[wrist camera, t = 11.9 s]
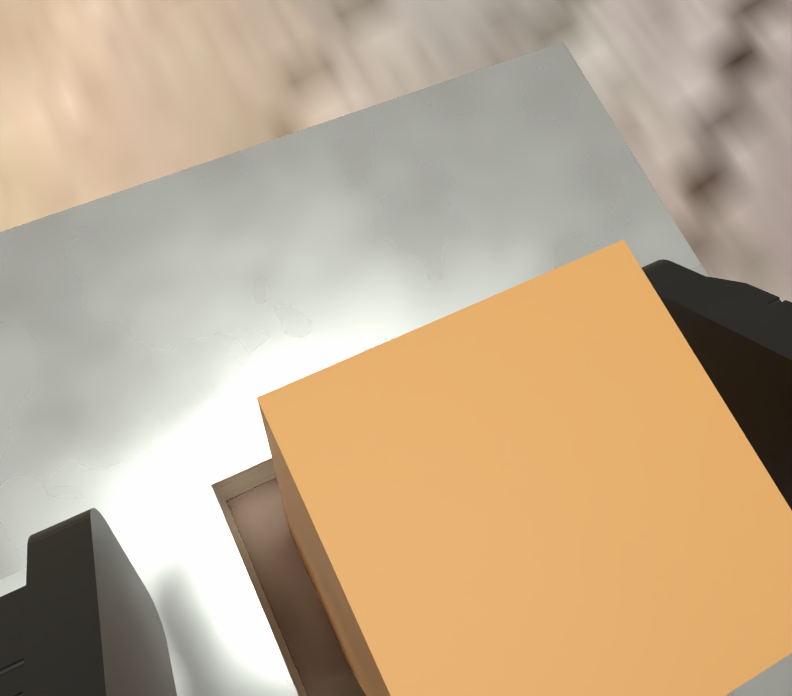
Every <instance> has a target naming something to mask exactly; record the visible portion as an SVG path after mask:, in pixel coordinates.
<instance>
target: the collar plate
mask: <svg viewBox="0 0 792 696" xmlns="http://www.w3.org/2000/svg"><path fill="white" fill-rule="evenodd" d="M621 240H624V241H625V242H626V244H627V246H628V247H629V249H630V251H631V252H632V254H633V255H634V257H635V259H636V260H637V262H638V263H639V265H640V267H641V268H642V267H644V266H646V265H648V264H651V263H653V262H655V261H657V260H662V259H664V260H669V261H672V262H674V263H676V264H679V265H681V266H683V267H686V268H688V269H690V270H692V271H695V272H697V273H699V274H702V275H704V276H707V277H709V276H708V275H707V273H706V272H705V270H704V268H703V267H702V265H701V264H700V262H699V260H698V259H697V257H696V255H695V254H694V252H693V251H692V249H691V247H690V246H689V244H688V243H687V241H686V239H685V238H684V236H683V234H682V233H681V231H680V230H679V228H678V226H677V225H676V223H675V222H674V220H673V218H672V217H671V215H670V213H669V212H668V210H667V209H666V207H665V205H664V204H663V202H662V200H661V199H660V197H659V196H658V194H657V192H656V191H655V189H654V188H653V186H652V184H651V183H650V181H649V179H648V178H647V176H646V175H645V173H644V171H643V170H642V168H641V167H640V165H639V163H638V162H637V160H636V158H635V157H634V155H633V154H632V152H631V150H630V149H629V147H628V146H627V144H626V142H625V141H624V139H623V137H622V136H621V134H620V133H619V131H618V129H617V128H616V126H615V124H614V123H613V121H612V120H611V118H610V116H609V115H608V113H607V112H606V110H605V108H604V107H603V105H602V103H601V102H600V100H599V99H598V97H597V95H596V94H595V92H594V91H593V89H592V87H591V86H590V84H589V82H588V81H587V79H586V78H585V76H584V74H583V73H582V71H581V70H580V68H579V66H578V65H577V63H576V61H575V60H574V58H573V57H572V55H571V53H570V52H569V50H568V48H567V47H566V45H565V44H564V42H561V43H558V44H555V45H552V46H549V47H546V48H543V49H540V50H537V51H534V52H531V53H528V54H525V55H523V56H520V57H517V58H514V59H511V60H508V61H505V62H502V63H499V64H496V65H493V66H490V67H487V68H484V69H481V70H478V71H475V72H472V73H469V74H466V75H463V76H460V77H458V78H455V79H452V80H449V81H446V82H443V83H440V84H437V85H434V86H431V87H428V88H425V89H422V90H419V91H416V92H413V93H410V94H407V95H404V96H401V97H398V98H395V99H393V100H390V101H387V102H384V103H381V104H378V105H375V106H372V107H369V108H366V109H363V110H360V111H357V112H354V113H351V114H348V115H345V116H342V117H339V118H336V119H333V120H330V121H328V122H325V123H322V124H319V125H316V126H313V127H310V128H307V129H304V130H301V131H298V132H295V133H292V134H289V135H286V136H283V137H280V138H277V139H274V140H271V141H268V142H265V143H263V144H260V145H257V146H254V147H251V148H248V149H245V150H242V151H239V152H236V153H233V154H230V155H227V156H224V157H221V158H218V159H215V160H212V161H209V162H206V163H203V164H200V165H198V166H195V167H192V168H189V169H186V170H183V171H180V172H177V173H174V174H171V175H168V176H165V177H162V178H159V179H156V180H153V181H150V182H147V183H144V184H141V185H138V186H135V187H133V188H130V189H127V190H124V191H121V192H118V193H115V194H112V195H109V196H106V197H103V198H100V199H97V200H94V201H91V202H88V203H85V204H82V205H79V206H76V207H73V208H70V209H68V210H65V211H62V212H59V213H56V214H53V215H50V216H47V217H44V218H41V219H38V220H35V221H32V222H29V223H26V224H23V225H20V226H17V227H14V228H11V229H8V230H5V231H3V232H0V597H1V596H3V595H6V594H8V593H10V592H12V591H14V590H17V589H19V588H21V587H23V586H25V585H26V571H27V543H28V538H29V537H30V535H32V534H35V533H37V532H39V531H41V530H44V529H46V528H48V527H51V526H53V525H55V524H57V523H60V522H62V521H64V520H66V519H69V518H71V517H73V516H75V515H78V514H80V513H82V512H85V511H87V510H89V509H91V508H96V509H97V510H98V511H99V512H100V513H101V515H102V516H103V517H104V519H105V520H106V522H107V524H108V525H109V527H110V529H111V530H112V532H113V534H114V535H115V537H116V539H117V540H118V542H119V544H120V545H121V547H122V549H123V550H124V552H125V554H126V555H127V557H128V559H129V560H130V562H131V564H132V565H133V567H134V569H135V570H136V572H137V574H138V575H139V577H140V579H141V580H142V582H143V584H144V585H145V587H146V589H147V590H148V592H149V594H150V596H151V598H152V600H153V602H154V604H155V607H156V609H157V611H158V614H159V617H160V619H161V622H162V625H163V628H164V632H165V636H166V640H167V645H168V650H169V655H170V661H171V666H172V671H173V677H174V682H175V687H176V692H177V696H307V694H306V691H305V689H304V686H303V684H302V682H301V679H300V677H299V674H298V672H297V670H296V667H295V665H294V662H293V660H292V658H291V655H290V653H289V651H288V648H287V646H286V643H285V641H284V639H283V636H282V634H281V631H280V629H279V627H278V624H277V622H276V619H275V617H274V615H273V612H272V610H271V607H270V605H269V603H268V600H267V598H266V596H265V593H264V591H263V588H262V586H261V584H260V581H259V579H258V576H257V574H256V572H255V569H254V567H253V564H252V562H251V560H250V557H249V555H248V553H247V550H246V548H245V545H244V543H243V541H242V538H241V536H240V533H239V531H238V529H237V526H236V524H235V521H234V519H233V517H232V514H231V512H230V509H229V507H228V505H227V502H226V500H229V499H231V498H233V497H235V496H237V495H239V494H242V493H244V492H246V491H248V490H250V489H253V488H255V487H257V486H259V485H261V484H263V483H266V482H268V481H270V480H272V479H274V478H276V473H275V469H274V465H273V461H272V457H271V453H270V448H269V444H268V440H267V436H266V432H265V428H264V424H263V420H262V416H261V412H260V408H259V404H258V400H257V397H259V396H261V395H264V394H266V393H268V392H271V391H273V390H275V389H278V388H280V387H282V386H285V385H287V384H289V383H292V382H294V381H296V380H299V379H301V378H303V377H306V376H308V375H310V374H312V373H315V372H317V371H319V370H322V369H324V368H326V367H329V366H331V365H333V364H336V363H338V362H340V361H343V360H345V359H347V358H350V357H352V356H354V355H357V354H359V353H361V352H364V351H366V350H368V349H371V348H373V347H375V346H377V345H380V344H382V343H384V342H387V341H389V340H391V339H394V338H396V337H398V336H401V335H403V334H405V333H408V332H410V331H412V330H415V329H417V328H419V327H422V326H424V325H426V324H429V323H431V322H433V321H436V320H438V319H440V318H443V317H445V316H447V315H449V314H452V313H454V312H456V311H459V310H461V309H463V308H466V307H468V306H470V305H473V304H475V303H477V302H480V301H482V300H484V299H487V298H489V297H491V296H494V295H496V294H498V293H501V292H503V291H505V290H508V289H510V288H512V287H514V286H517V285H519V284H521V283H524V282H526V281H528V280H531V279H533V278H535V277H538V276H540V275H542V274H545V273H547V272H549V271H552V270H554V269H556V268H559V267H561V266H563V265H566V264H568V263H570V262H573V261H575V260H577V259H579V258H582V257H584V256H586V255H589V254H591V253H593V252H596V251H598V250H600V249H603V248H605V247H607V246H610V245H612V244H614V243H617V242H619V241H621ZM725 696H792V653H791V654H789V655H788V656H786V657H785V658H783V659H782V660H780V661H778V662H777V663H775V664H774V665H772V666H771V667H769V668H767V669H766V670H764V671H763V672H761V673H760V674H758V675H757V676H755V677H753V678H752V679H750V680H749V681H747V682H746V683H744V684H743V685H741V686H739V687H738V688H736V689H735V690H733V691H732V692H730V693H729V694H727V695H725Z"/></svg>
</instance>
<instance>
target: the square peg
mask: <svg viewBox="0 0 792 696" xmlns="http://www.w3.org/2000/svg"><path fill="white" fill-rule="evenodd" d="M257 400H258V404H259V408H260V412H261V416H262V420H263V424H264V428H265V432H266V436H267V440H268V444H269V448H270V453H271V457H272V461H273V465H274V469H275V473H276V477H277V481H278V485H279V489H280V493H281V497H282V501H283V505H284V509H285V513H286V517H287V521H288V525H289V529H290V533H291V535H292V537H293V540H294V542H295V544H296V547H297V549H298V551H299V553H300V556H301V558H302V560H303V562H304V565H305V567H306V569H307V572H308V574H309V576H310V578H311V581H312V583H313V585H314V588H315V590H316V592H317V594H318V597H319V599H320V601H321V604H322V606H323V608H324V610H325V613H326V615H327V617H328V619H329V622H330V624H331V626H332V629H333V631H334V633H335V635H336V638H337V640H338V642H339V645H340V647H341V649H342V651H343V654H344V656H345V658H346V660H347V663H348V665H349V667H350V670H351V671H352V673H353V675H354V676H355V678H356V680H357V681H358V683H359V685H360V686H361V688H362V690H363V691H364V693H365V695H366V696H725V695H727V694H729V693H730V692H732V691H733V690H735V689H736V688H738V687H739V686H741V685H743V684H744V683H746V682H747V681H749V680H750V679H752V678H753V677H755V676H757V675H758V674H760V673H761V672H763V671H764V670H766V669H767V668H769V667H771V666H772V665H774V664H775V663H777V662H778V661H780V660H782V659H783V658H785V657H786V656H788V655H789V654H791V653H792V510H791V509H790V507H789V505H788V504H787V502H786V501H785V499H784V497H783V496H782V494H781V493H780V491H779V489H778V488H777V486H776V485H775V483H774V481H773V480H772V478H771V476H770V475H769V473H768V472H767V470H766V468H765V467H764V465H763V464H762V462H761V460H760V459H759V457H758V455H757V454H756V452H755V451H754V449H753V447H752V446H751V444H750V443H749V441H748V439H747V438H746V436H745V434H744V433H743V431H742V430H741V428H740V426H739V425H738V423H737V422H736V420H735V418H734V417H733V415H732V414H731V412H730V410H729V409H728V407H727V405H726V404H725V402H724V401H723V399H722V397H721V396H720V394H719V393H718V391H717V389H716V388H715V386H714V384H713V383H712V381H711V380H710V378H709V376H708V375H707V373H706V372H705V370H704V368H703V367H702V365H701V363H700V362H699V360H698V359H697V357H696V355H695V354H694V352H693V351H692V349H691V347H690V346H689V344H688V343H687V341H686V339H685V338H684V336H683V334H682V333H681V331H680V330H679V328H678V326H677V325H676V323H675V322H674V320H673V318H672V317H671V315H670V313H669V312H668V310H667V309H666V307H665V305H664V304H663V302H662V301H661V299H660V297H659V296H658V294H657V293H656V291H655V289H654V288H653V286H652V284H651V283H650V281H649V280H648V278H647V276H646V275H645V273H644V272H643V270H642V268H641V267H640V265H639V263H638V262H637V260H636V259H635V257H634V255H633V254H632V252H631V251H630V249H629V247H628V246H627V244H626V242H625V241H624V240H621V241H619V242H617V243H614V244H612V245H610V246H607V247H605V248H603V249H600V250H598V251H596V252H593V253H591V254H589V255H586V256H584V257H582V258H579V259H577V260H575V261H573V262H570V263H568V264H566V265H563V266H561V267H559V268H556V269H554V270H552V271H549V272H547V273H545V274H542V275H540V276H538V277H535V278H533V279H531V280H528V281H526V282H524V283H521V284H519V285H517V286H514V287H512V288H510V289H508V290H505V291H503V292H501V293H498V294H496V295H494V296H491V297H489V298H487V299H484V300H482V301H480V302H477V303H475V304H473V305H470V306H468V307H466V308H463V309H461V310H459V311H456V312H454V313H452V314H449V315H447V316H445V317H443V318H440V319H438V320H436V321H433V322H431V323H429V324H426V325H424V326H422V327H419V328H417V329H415V330H412V331H410V332H408V333H405V334H403V335H401V336H398V337H396V338H394V339H391V340H389V341H387V342H384V343H382V344H380V345H377V346H375V347H373V348H371V349H368V350H366V351H364V352H361V353H359V354H357V355H354V356H352V357H350V358H347V359H345V360H343V361H340V362H338V363H336V364H333V365H331V366H329V367H326V368H324V369H322V370H319V371H317V372H315V373H312V374H310V375H308V376H306V377H303V378H301V379H299V380H296V381H294V382H292V383H289V384H287V385H285V386H282V387H280V388H278V389H275V390H273V391H271V392H268V393H266V394H264V395H261V396H259V397H257Z"/></svg>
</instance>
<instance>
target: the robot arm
mask: <svg viewBox="0 0 792 696" xmlns="http://www.w3.org/2000/svg"><path fill="white" fill-rule="evenodd" d="M642 270H643V272H644V273H645V275H646V276H647V278H648V280H649V281H650V283H651V284H652V286H653V288H654V289H655V291H656V293H657V294H658V296H659V297H660V299H661V301H662V302H663V304H664V305H665V307H666V309H667V310H668V312H669V313H670V315H671V317H672V318H673V320H674V322H675V323H676V325H677V326H678V328H679V330H680V331H681V333H682V334H683V336H684V338H685V339H686V341H687V343H688V344H689V346H690V347H691V349H692V351H693V352H694V354H695V355H696V357H697V359H698V360H699V362H700V363H701V365H702V367H703V368H704V370H705V372H706V373H707V375H708V376H709V378H710V380H711V381H712V383H713V384H714V386H715V388H716V389H717V391H718V393H719V394H720V396H721V397H722V399H723V401H724V402H725V404H726V405H727V407H728V409H729V410H730V412H731V414H732V415H733V417H734V418H735V420H736V422H737V423H738V425H739V426H740V428H741V430H742V431H743V433H744V434H745V436H746V438H747V439H748V441H749V443H750V444H751V446H752V447H753V449H754V451H755V452H756V454H757V455H758V457H759V459H760V460H761V462H762V464H763V465H764V467H765V468H766V470H767V472H768V473H769V475H770V476H771V478H772V480H773V481H774V483H775V485H776V486H777V488H778V489H779V491H780V493H781V494H782V496H783V497H784V499H785V501H786V502H787V504H788V505H789V507H790V509H791V510H792V303H791V302H789V301H787V300H785V301H783V302H781V301H780V299H779V297H777V296H775V295H772V294H770V293H768V292H765V291H763V290H761V289H758V288H756V287H754V286H751V285H749V284H746V283H741V282H736V281H730V280H724V279H718V278H712V277H707V276H704V275H702V274H699V273H697V272H695V271H692V270H690V269H688V268H686V267H683V266H681V265H679V264H676V263H674V262H672V261H669V260H664V259H662V260H657V261H655V262H653V263H651V264H648V265H646V266H644V267H642ZM0 696H177V692H176V687H175V682H174V677H173V671H172V666H171V661H170V655H169V650H168V645H167V640H166V636H165V632H164V628H163V625H162V622H161V619H160V617H159V614H158V611H157V609H156V607H155V604H154V602H153V600H152V598H151V596H150V594H149V592H148V590H147V589H146V587H145V585H144V584H143V582H142V580H141V579H140V577H139V575H138V574H137V572H136V570H135V569H134V567H133V565H132V564H131V562H130V560H129V559H128V557H127V555H126V554H125V552H124V550H123V549H122V547H121V545H120V544H119V542H118V540H117V539H116V537H115V535H114V534H113V532H112V530H111V529H110V527H109V525H108V524H107V522H106V520H105V519H104V517H103V516H102V515H101V513H100V512H99V511H98V510H97V509H96V508H91V509H89V510H87V511H85V512H82V513H80V514H78V515H75V516H73V517H71V518H69V519H66V520H64V521H62V522H60V523H57V524H55V525H53V526H51V527H48V528H46V529H44V530H41V531H39V532H37V533H35V534H32V535H30V537H29V538H28V543H27V571H26V585H25V586H23V587H21V588H19V589H17V590H14V591H12V592H10V593H8V594H6V595H3V596H1V597H0Z"/></svg>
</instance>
